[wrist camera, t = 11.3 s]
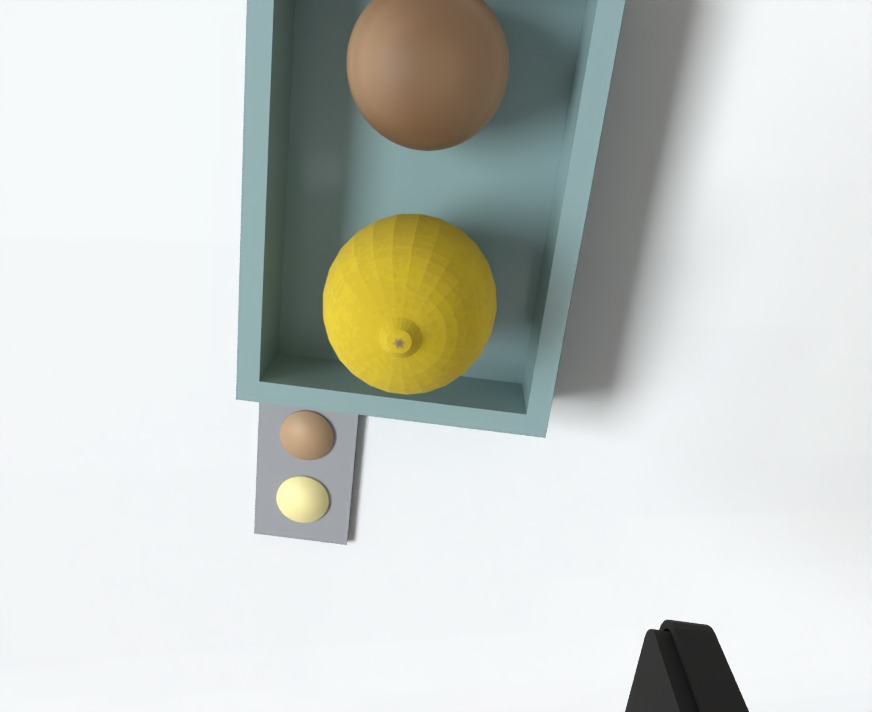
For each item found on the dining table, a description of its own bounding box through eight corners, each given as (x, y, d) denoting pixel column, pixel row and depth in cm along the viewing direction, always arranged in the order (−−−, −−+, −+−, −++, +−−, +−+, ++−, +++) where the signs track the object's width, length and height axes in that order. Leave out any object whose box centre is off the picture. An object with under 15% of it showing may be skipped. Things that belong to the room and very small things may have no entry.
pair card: (360, 393, 31) (359, 397, 31) (347, 540, 33) (346, 546, 33) (261, 381, 31) (259, 384, 31) (256, 529, 33) (253, 534, 33)
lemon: (314, 269, 29) (257, 338, 21) (420, 164, 27) (399, 198, 20) (417, 370, 30) (399, 470, 22) (525, 275, 28) (543, 347, 21)
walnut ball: (516, -5, 25) (526, -23, 20) (494, 152, 27) (499, 168, 22) (365, -23, 25) (340, -46, 20) (353, 135, 27) (328, 147, 22)
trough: (613, -35, 25) (634, -51, 22) (537, 398, 31) (545, 437, 27) (278, -76, 25) (249, -98, 22) (261, 364, 31) (236, 399, 27)
